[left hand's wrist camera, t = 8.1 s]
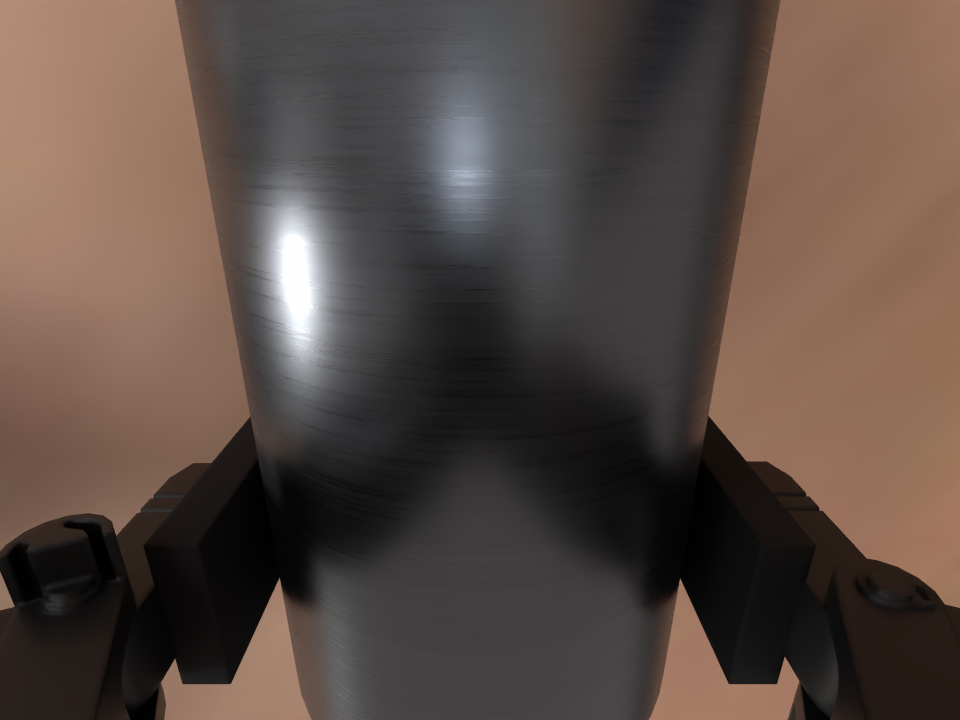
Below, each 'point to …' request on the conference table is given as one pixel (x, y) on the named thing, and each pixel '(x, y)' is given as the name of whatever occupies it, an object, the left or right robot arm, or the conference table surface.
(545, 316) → the rod
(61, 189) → the conference table surface
